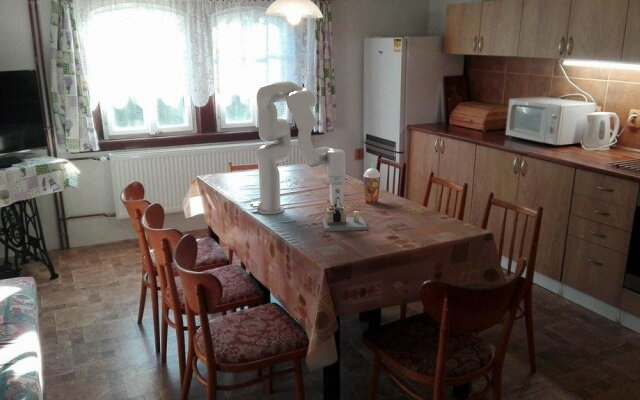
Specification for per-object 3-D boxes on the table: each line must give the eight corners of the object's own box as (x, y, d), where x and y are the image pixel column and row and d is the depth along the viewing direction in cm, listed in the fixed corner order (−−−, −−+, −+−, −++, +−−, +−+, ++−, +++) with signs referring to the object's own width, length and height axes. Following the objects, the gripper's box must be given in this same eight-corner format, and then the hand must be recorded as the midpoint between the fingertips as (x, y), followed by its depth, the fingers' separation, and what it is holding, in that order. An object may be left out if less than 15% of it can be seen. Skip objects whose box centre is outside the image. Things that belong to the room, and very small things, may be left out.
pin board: (324, 231, 225) (324, 217, 224) (321, 221, 238) (321, 208, 236) (367, 229, 227) (367, 216, 226) (361, 219, 240) (361, 207, 238)
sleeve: (346, 224, 229) (346, 211, 228) (327, 225, 228) (327, 211, 227) (343, 219, 235) (343, 206, 233) (325, 220, 234) (325, 207, 233)
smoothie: (359, 200, 268) (360, 161, 262) (374, 199, 271) (375, 160, 266) (367, 205, 261) (368, 165, 255) (382, 203, 264) (384, 163, 258)
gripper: (348, 183, 218) (347, 225, 223) (341, 173, 235) (341, 212, 240) (329, 184, 218) (329, 226, 223) (324, 174, 234) (324, 213, 239)
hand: (335, 218), depth 231 cm, fingers open, 7 cm apart
